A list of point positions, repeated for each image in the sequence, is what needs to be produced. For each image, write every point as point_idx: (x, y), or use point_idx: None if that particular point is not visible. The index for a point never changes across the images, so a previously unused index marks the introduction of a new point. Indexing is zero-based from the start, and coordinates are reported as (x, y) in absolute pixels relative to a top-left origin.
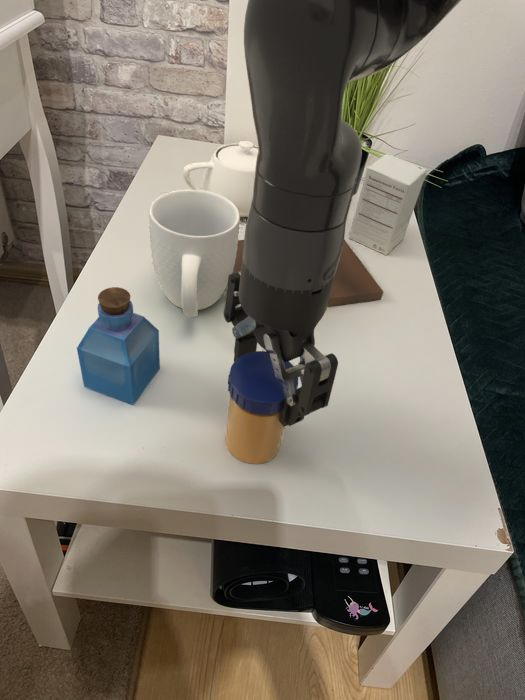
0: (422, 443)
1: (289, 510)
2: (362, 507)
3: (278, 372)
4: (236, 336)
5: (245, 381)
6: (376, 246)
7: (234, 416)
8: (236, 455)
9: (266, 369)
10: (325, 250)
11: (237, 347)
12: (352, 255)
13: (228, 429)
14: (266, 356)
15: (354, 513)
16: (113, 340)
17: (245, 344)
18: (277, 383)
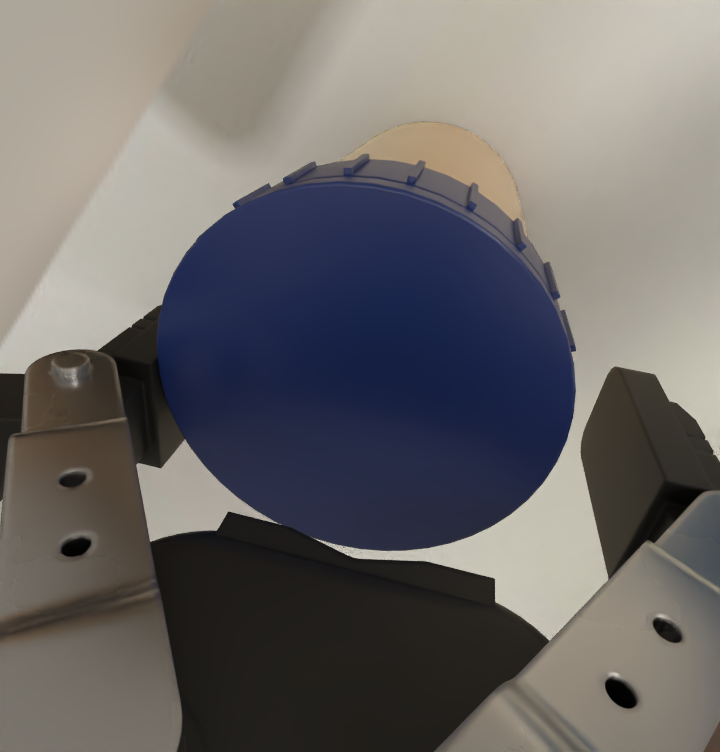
0: (179, 524)
1: (165, 142)
2: (99, 309)
3: (57, 467)
4: (717, 505)
5: (379, 283)
6: None
7: (405, 152)
8: (399, 126)
9: (378, 439)
10: None
11: (667, 445)
12: None
13: (456, 141)
14: (459, 503)
15: (93, 282)
16: None
17: (635, 490)
18: (265, 411)
